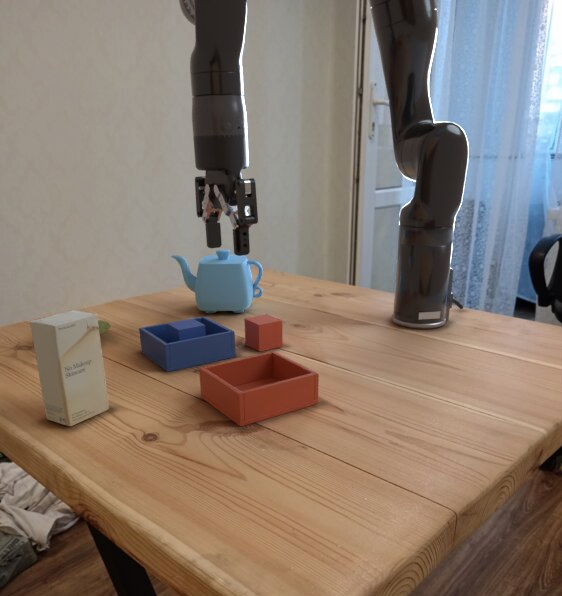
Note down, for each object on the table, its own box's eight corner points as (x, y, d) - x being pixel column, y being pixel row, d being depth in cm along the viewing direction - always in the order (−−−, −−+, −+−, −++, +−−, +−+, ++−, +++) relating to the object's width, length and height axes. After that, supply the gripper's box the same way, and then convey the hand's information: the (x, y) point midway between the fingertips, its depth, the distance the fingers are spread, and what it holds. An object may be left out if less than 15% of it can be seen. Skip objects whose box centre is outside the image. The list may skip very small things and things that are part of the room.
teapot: (179, 300, 121) (175, 245, 116) (265, 299, 120) (263, 244, 116) (167, 316, 109) (162, 256, 105) (262, 316, 109) (261, 255, 105)
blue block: (194, 344, 92) (192, 318, 90) (206, 352, 88) (205, 324, 86) (168, 350, 89) (166, 322, 88) (180, 358, 86) (178, 329, 84)
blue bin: (205, 339, 96) (204, 316, 94) (235, 356, 88) (234, 331, 86) (141, 352, 90) (138, 327, 89) (167, 372, 82) (164, 345, 81)
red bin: (273, 378, 79) (273, 350, 78) (318, 403, 72) (318, 373, 70) (200, 397, 74) (198, 367, 72) (240, 426, 66) (239, 394, 64)
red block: (268, 339, 96) (267, 314, 94) (282, 346, 92) (282, 320, 91) (245, 344, 93) (244, 318, 92) (259, 351, 90) (258, 324, 88)
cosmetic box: (69, 428, 66) (53, 326, 61) (44, 419, 68) (26, 321, 64) (111, 408, 71) (99, 313, 66) (87, 401, 73) (73, 308, 68)
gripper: (270, 131, 76) (274, 254, 82) (220, 134, 87) (226, 242, 93) (220, 132, 72) (228, 261, 78) (174, 135, 83) (184, 248, 89)
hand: (227, 251), depth 85 cm, fingers open, 8 cm apart
